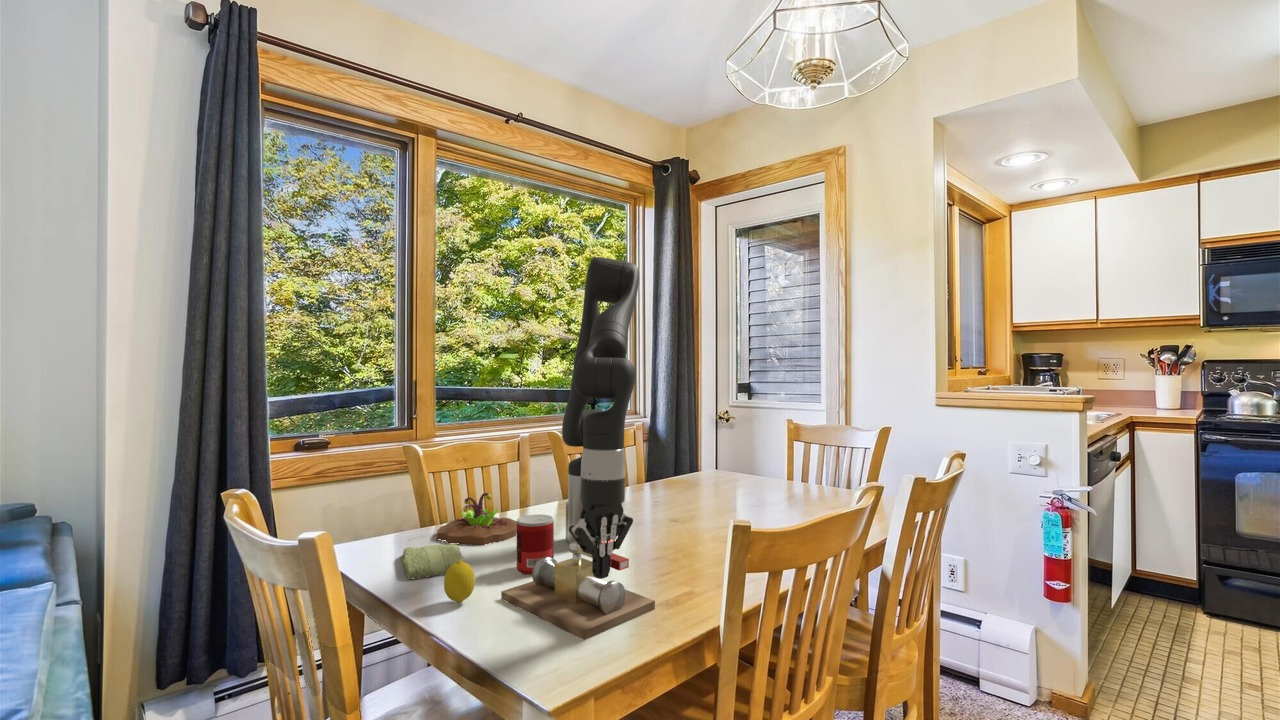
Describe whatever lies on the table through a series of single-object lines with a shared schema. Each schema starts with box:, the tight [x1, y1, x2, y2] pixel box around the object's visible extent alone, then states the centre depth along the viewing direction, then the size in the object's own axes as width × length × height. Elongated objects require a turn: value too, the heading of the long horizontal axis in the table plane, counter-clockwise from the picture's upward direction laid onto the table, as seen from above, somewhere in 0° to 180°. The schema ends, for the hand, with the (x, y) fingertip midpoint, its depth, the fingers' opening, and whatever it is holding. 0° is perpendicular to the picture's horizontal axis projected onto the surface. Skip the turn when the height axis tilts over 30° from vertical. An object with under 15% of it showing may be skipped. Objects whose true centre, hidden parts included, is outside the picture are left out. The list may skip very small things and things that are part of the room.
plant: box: [436, 492, 517, 546], centre depth 156 cm, size 20×20×11 cm
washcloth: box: [400, 544, 466, 580], centre depth 132 cm, size 13×18×3 cm
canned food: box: [516, 514, 555, 575], centre depth 129 cm, size 8×8×11 cm
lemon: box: [443, 560, 476, 605], centre depth 110 cm, size 6×6×8 cm
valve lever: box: [568, 542, 630, 571], centre depth 106 cm, size 14×3×2 cm, turn 44°
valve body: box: [531, 553, 626, 614], centre depth 110 cm, size 20×6×9 cm, turn 46°
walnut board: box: [500, 580, 656, 641], centre depth 110 cm, size 24×17×2 cm
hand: (601, 576), depth 100 cm, fingers closed
